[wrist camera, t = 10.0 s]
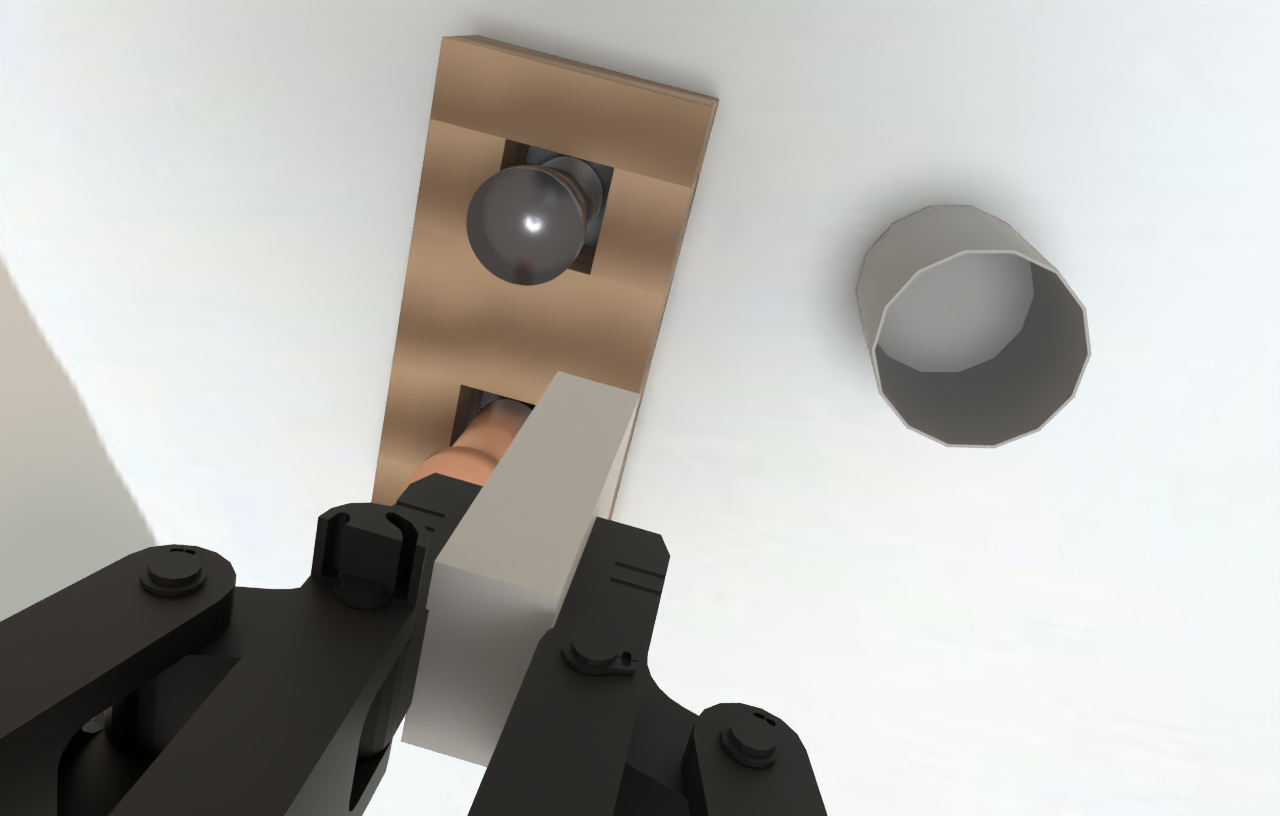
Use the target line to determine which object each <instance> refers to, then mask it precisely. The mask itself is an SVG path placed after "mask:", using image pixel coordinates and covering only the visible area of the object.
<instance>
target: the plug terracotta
mask: <svg viewBox="0 0 1280 816" xmlns="http://www.w3.org/2000/svg"><path fill="white" fill-rule="evenodd" d="M531 412H532V410H531V409H530V408H529V407H528V406H526V405H524V404H523V403H520V402H518V401H515V400H510V399H500V400H495V401H492V402H490V403H488V404H487V405H485V406H484V407H483V408H482V409H481V410H480V411H479V413H478V414H477V415H476V416H475V418H474V419H473V420H472V422H471V423H470V424H469V425H468V427H467V428H466V429H465V431H464V432H463V433H462V434H461V436H460V437H459V438H458V439H457V441H456V442H455V443H454V445H453V446H452V447H447V448H443V449H440V450H438V451H436V452H434V453H432V454H431V455H429V456H428V457H427V458H426V459H425V460H424V461H423V462H422V463H421V464H420V465H419V467H418V468H417V469H416V470H415V472H414V473H413V474H412V475H411V476H410V478H409V480H408V481H407V484H406V486H405V489H406V488H407V487H408V486H409V484H411V483H413V482H415V481H417V480H420V479H422V478H424V477H426V476H428V475H431V474H433V473H435V472H436V473H439V474H442V475H446V476H449V477H453V478H456V479H460V480H463V481H467V482H470V483H474V484H477V485H481V486H484V484H485V483H486V481H487V480H488V478H489V477H490V475H491V474H492V472H493V470H494V469H495V467H496V466H497V464H498V463H499V461H500V460H501V458H502V457H503V455H504V454H505V452H506V450H507V449H508V447H509V446H510V444H511V443H512V441H513V440H514V438H515V437H516V435H517V434H518V432H519V430H520V429H521V427H522V426H523V424H524V423H525V421H526V420H527V418H528V417H529V415H530V413H531ZM405 489H404V491H405Z"/></svg>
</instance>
